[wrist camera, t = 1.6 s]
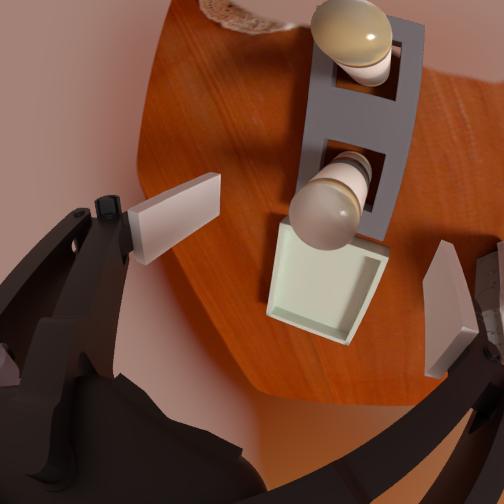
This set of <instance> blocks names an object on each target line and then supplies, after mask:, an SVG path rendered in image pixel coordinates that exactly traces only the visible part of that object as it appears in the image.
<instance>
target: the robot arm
mask: <svg viewBox="0 0 504 504" xmlns="http://www.w3.org/2000/svg"><path fill="white" fill-rule="evenodd" d="M220 183H221V174H218V173H213V172H209V173H207V174H204V175H202V176H199V177H197V178H195V179H192V180H190V181H188V182H185V183H183V184H181V185H179V186H176V187H174V188H172V189H170V190H167V191H165V192H163V193H161V194H159V195H157V196H154V197H152V198H150V199H148V200H146V201H144V202H142V203H140V204H138V205H136V206H134V207H132V208H130V209H128V211H126V212H124V213H122V211H121V205H120V197H119V196H117V195H107V196H103V197H100V198H98V199H97V200H96V201H95V207H96V213H97V218H93V217H91V213H90V209H88V208H77V209H76V210H74V211H72V212H71V213H69V214H68V215H67V216H66V217H65V218H64V219H63V220H61V221H60V222H59V223H58V224H57V225H56V226H55V227H54V228H53V229H52V230H51V231H50V232H49V233H48V234H47V235H46V236H45V237H44V238H42V240H40V241H39V242H38V244H37V245H36V246H35V247H34V248H33V249H32V250H31V251H30V252H29V253H28V254H27V255H26V256H25V257H24V258H23V259H22V260H21V261H20V263H19V264H18V265H17V266H16V267H15V268H14V269H13V270H12V272H11V273H10V274H9V275H8V276H7V277H6V279H5V280H4V281H3V282H2V283H1V285H0V504H370V503H371V502H372V501H373V500H374V499H375V498H377V497H378V496H380V495H381V494H382V493H384V492H385V491H386V490H388V489H389V488H390V487H392V486H393V485H394V484H395V483H397V482H398V481H399V480H400V479H402V478H403V477H404V476H405V475H406V474H407V473H408V472H410V471H411V470H412V469H413V468H414V467H416V466H417V465H418V464H419V463H420V462H421V461H422V460H423V459H424V458H425V457H426V456H428V455H429V454H430V453H431V452H432V451H433V450H434V449H435V448H436V446H438V445H439V444H440V443H441V442H442V440H443V439H444V438H445V437H446V436H447V435H448V434H449V433H450V432H451V431H452V430H453V428H454V427H455V426H456V425H457V424H458V423H459V422H460V420H461V419H462V418H463V417H464V415H465V414H466V413H467V412H468V411H469V409H470V408H472V409H473V412H472V414H471V416H470V418H469V420H468V423H467V425H466V427H465V429H464V431H463V433H462V435H461V437H460V439H459V441H458V443H457V445H456V447H455V449H454V450H453V452H452V454H451V456H450V457H449V459H448V461H447V463H446V464H445V466H444V468H443V469H442V471H441V472H440V474H439V476H438V477H437V479H436V480H435V482H434V483H433V485H432V486H431V488H430V489H429V490H428V492H427V493H426V495H425V496H424V497H423V499H422V500H421V501H420V503H419V504H497V502H498V500H499V498H500V496H501V494H502V492H503V489H504V365H503V364H502V363H501V361H502V358H501V354H500V351H499V349H498V348H497V347H496V345H494V344H493V343H492V342H491V341H489V339H488V335H487V331H486V326H485V322H484V318H483V316H482V311H481V307H480V305H479V304H478V302H477V300H476V299H475V298H474V297H471V296H470V293H469V290H468V286H467V283H466V280H465V277H464V274H463V270H462V268H461V265H460V262H459V259H458V256H457V253H456V251H455V248H454V245H453V244H451V243H449V242H446V241H444V240H441V242H440V244H439V246H438V249H437V251H436V253H435V256H434V258H433V260H432V262H431V265H430V267H429V269H428V271H427V273H426V275H425V277H424V279H423V281H422V282H423V293H424V308H425V376H429V377H432V378H436V379H440V378H441V377H442V376H443V375H444V374H445V373H446V372H447V371H448V377H447V378H446V379H445V380H444V381H443V382H442V383H441V384H440V385H439V386H438V387H437V388H436V389H435V390H433V391H432V392H431V393H430V394H429V395H428V396H427V397H426V398H425V399H423V400H422V401H421V402H420V403H419V404H418V405H416V406H415V407H414V408H413V409H412V410H410V411H409V412H408V413H407V414H405V415H404V416H403V417H402V418H400V419H399V420H398V421H397V422H395V423H394V424H393V425H391V426H390V427H388V428H387V429H385V430H384V431H383V432H381V433H380V434H378V435H377V436H375V437H374V438H372V439H371V440H369V441H368V442H367V443H365V444H364V445H362V446H360V447H359V448H357V449H355V450H354V451H352V452H350V453H349V454H347V455H345V456H344V457H342V458H340V459H338V460H336V461H334V462H331V463H329V464H328V465H326V466H324V467H322V468H320V469H318V470H316V471H314V472H312V473H310V474H308V475H306V476H303V477H301V478H299V479H297V480H294V481H292V482H290V483H288V484H285V485H283V486H280V487H278V488H276V489H273V490H270V491H267V488H266V486H265V484H264V481H263V480H262V478H261V476H260V474H259V473H258V472H257V471H256V469H255V468H254V467H253V466H252V465H251V464H250V463H249V462H248V461H247V460H246V459H245V458H243V457H242V456H241V455H242V450H243V449H242V448H240V447H238V446H236V445H234V444H232V443H230V442H228V441H226V440H224V439H222V438H219V437H218V436H216V435H214V434H212V433H210V432H208V431H206V430H202V429H199V428H196V427H192V426H189V425H186V424H183V423H180V422H177V421H174V420H171V419H169V418H168V417H166V415H165V414H164V413H162V411H161V410H160V409H159V408H158V407H157V406H156V404H155V403H154V402H153V401H152V399H151V398H150V397H149V396H148V395H147V393H146V392H145V391H144V390H142V389H141V388H139V387H138V386H137V385H135V384H134V383H133V382H131V381H130V380H129V379H128V378H126V377H125V376H124V375H122V374H121V373H120V374H119V375H118V376H117V377H116V378H115V379H114V375H113V358H114V349H115V340H116V333H117V325H118V319H119V312H120V306H121V300H122V294H123V289H124V284H125V279H126V274H127V269H128V265H129V253H130V252H131V251H133V250H134V254H135V260H136V261H138V262H140V263H142V264H144V265H147V264H149V263H150V262H151V261H153V260H154V259H155V258H157V257H158V256H160V255H161V254H163V253H164V252H165V251H167V250H168V249H170V248H171V247H173V246H174V245H175V244H177V243H178V242H180V241H181V240H183V239H184V238H186V237H187V236H188V235H190V234H191V233H193V232H194V231H196V230H197V229H199V228H200V227H202V226H203V225H205V224H206V223H208V222H209V221H211V220H212V219H214V218H215V217H217V216H218V215H219V211H220ZM73 240H74V244H75V247H76V250H75V251H74V252H73V250H72V242H73ZM1 343H2V345H1ZM20 378H21V379H20Z"/></svg>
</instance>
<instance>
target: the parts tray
mask: <svg viewBox="0 0 504 504" xmlns="http://www.w3.org/2000/svg"><path fill="white" fill-rule="evenodd" d="M388 259H389V248H388V247H385V246H382V245H380V244H377V243H374V242H371V241H368V240H365V239H362V238H359V237H356V236H354V238H353V239H352V240H351V241H350V242H349V243H348V244H347V245H345V246H344V247H342V248H340V249H337V250H331V251H324V250H318V249H315V248H313V247H311V246H309V245H307V244H306V243H304V242H303V241H302V240H301V239H300V238H299V237H298V236H297V235H296V233H295V232H294V230H293V228H292V226H291V223H290V219H289V216H288V215H287V216H286V217H285V218H284V219H283V220H282V221H281V222H280V226H279V233H278V240H277V247H276V254H275V261H274V267H273V274H272V281H271V287H270V293H269V300H268V306H267V312H266V315H268V316H270V317H273V318H275V319H278V320H280V321H283V322H285V323H288V324H290V325H293V326H296V327H298V328H301V329H304V330H306V331H309V332H312V333H314V334H317V335H320V336H322V337H325V338H328V339H331V340H333V341H336V342H339V343H342V344H345V345H347V346H349V344H350V342H351V340H352V338H353V336H354V334H355V332H356V330H357V328H358V326H359V324H360V322H361V320H362V318H363V316H364V314H365V312H366V310H367V308H368V306H369V303H370V301H371V299H372V297H373V295H374V292H375V290H376V288H377V286H378V283H379V281H380V279H381V276H382V274H383V271H384V269H385V266H386V264H387V261H388Z"/></svg>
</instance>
